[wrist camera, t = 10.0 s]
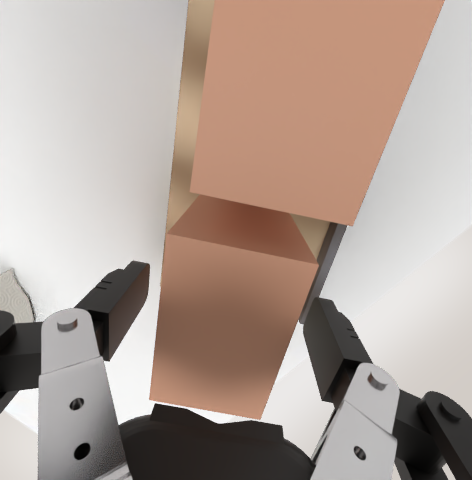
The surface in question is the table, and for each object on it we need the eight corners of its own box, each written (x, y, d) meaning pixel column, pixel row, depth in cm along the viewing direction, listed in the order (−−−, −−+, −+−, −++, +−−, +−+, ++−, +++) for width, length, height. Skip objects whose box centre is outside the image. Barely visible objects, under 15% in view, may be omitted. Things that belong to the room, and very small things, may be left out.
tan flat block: (196, 8, 14) (184, -26, 11) (390, 54, 15) (426, 33, 12) (167, 273, 21) (154, 295, 18) (300, 299, 22) (308, 325, 19)
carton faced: (247, 3, 13) (248, -261, 4) (343, 26, 13) (522, -184, 4) (220, 163, 16) (189, 192, 7) (297, 180, 16) (354, 226, 7)
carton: (208, 184, 16) (166, 233, 8) (283, 200, 16) (320, 264, 8) (191, 286, 19) (148, 399, 11) (255, 299, 19) (261, 419, 11)
